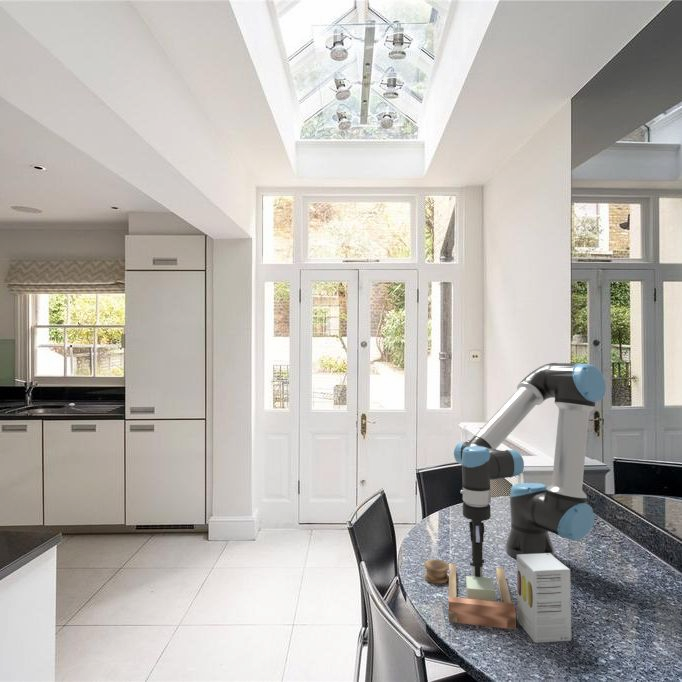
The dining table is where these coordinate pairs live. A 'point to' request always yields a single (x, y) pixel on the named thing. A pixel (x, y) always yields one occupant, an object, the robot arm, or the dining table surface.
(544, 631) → the supplement box
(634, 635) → the dining table surface
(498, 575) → the track
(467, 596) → the pale green block
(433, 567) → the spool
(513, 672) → the dining table surface
